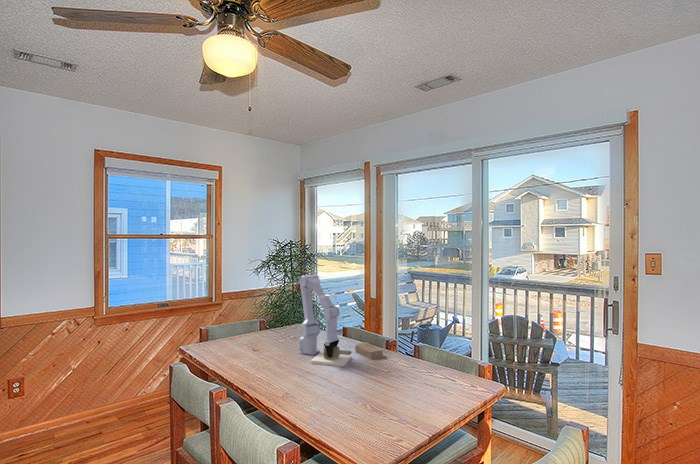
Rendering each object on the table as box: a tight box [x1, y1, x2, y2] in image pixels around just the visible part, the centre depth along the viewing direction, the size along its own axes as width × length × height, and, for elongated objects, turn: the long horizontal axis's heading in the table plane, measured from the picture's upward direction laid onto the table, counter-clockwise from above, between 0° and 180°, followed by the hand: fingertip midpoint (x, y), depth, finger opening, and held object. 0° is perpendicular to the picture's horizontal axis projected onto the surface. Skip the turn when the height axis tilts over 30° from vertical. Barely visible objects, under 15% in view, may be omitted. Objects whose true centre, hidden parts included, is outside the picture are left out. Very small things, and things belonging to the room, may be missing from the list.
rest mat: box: [339, 349, 352, 355], centre depth 210 cm, size 12×8×1 cm, turn 74°
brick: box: [354, 342, 384, 360], centre depth 209 cm, size 16×8×5 cm, turn 32°
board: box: [310, 351, 352, 367], centre depth 198 cm, size 18×14×2 cm
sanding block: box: [323, 346, 340, 359], centre depth 198 cm, size 7×5×5 cm
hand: (331, 355), depth 198 cm, fingers closed on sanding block, 5 cm apart
